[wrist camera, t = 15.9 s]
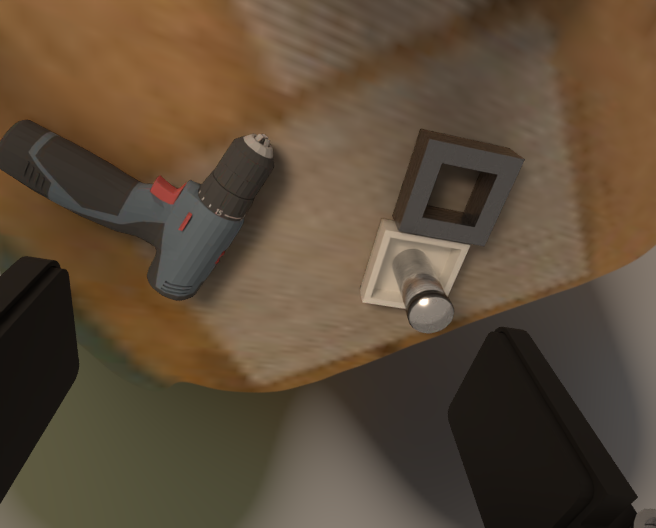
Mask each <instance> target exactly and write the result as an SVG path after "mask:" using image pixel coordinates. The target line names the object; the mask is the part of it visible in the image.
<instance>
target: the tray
mask: <svg viewBox="0 0 656 528" xmlns="http://www.w3.org/2000/svg"><path fill="white" fill-rule="evenodd" d="M469 247H470V244H469V243H463V242H458V241H452V240H446V239H441V238H435V237H430V236H424V235H418V234H413V233H407V232H402V231H398V229H397V226H396V224H395V221H393V220H388V219H381V222H380V225H379V229H378V232H377V235H376V238H375V241H374V245H373V248H372V251H371V254H370V258H369V261H368V264H367V267H366V270H365V274H364V277H363V280H362V283H361V286H360V292H361V297H362V302H364V303H370V304H377V305H384V306H390V307H397V308H404V309H406V308H405V305H404V302H403V299H402V296H401V293H400V291H399V288H398V285H397V282H396V279H395V276H394V273H393V270H392V263H393V260H394V258H395V257H396V256H397V255H398V254H399V253H400V252H402V251H404V250H407V249H418V250H421V251H423V252H424V253H425V254H426V255H427V257H428V259H429V261H430V263H431V265H432V267H433V269H434V271H435V273H436V275H437V277H438V279H439V282H440V284H441V286H442V288H443V290H444V292H445V294H446V295H447V296H448V294H449V292H450V290H451V288H452V286H453V283H454V281H455V279H456V277H457V274H458V272H459V270H460V268H461V265H462V263H463V261H464V259H465V256H466V254H467V252H468V250H469Z"/></svg>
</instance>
